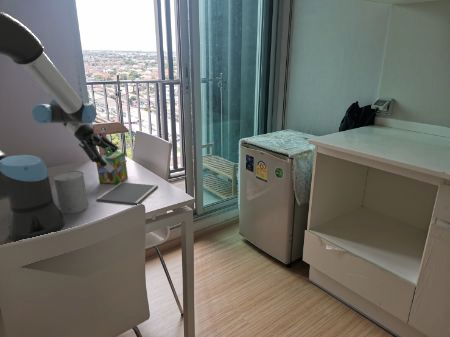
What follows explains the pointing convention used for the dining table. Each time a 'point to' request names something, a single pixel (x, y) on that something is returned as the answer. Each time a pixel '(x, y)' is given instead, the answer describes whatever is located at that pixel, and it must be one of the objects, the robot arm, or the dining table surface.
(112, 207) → the dining table surface
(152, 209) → the dining table surface
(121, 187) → the mat
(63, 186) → the grey cylinder
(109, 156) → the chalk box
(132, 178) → the dining table surface
